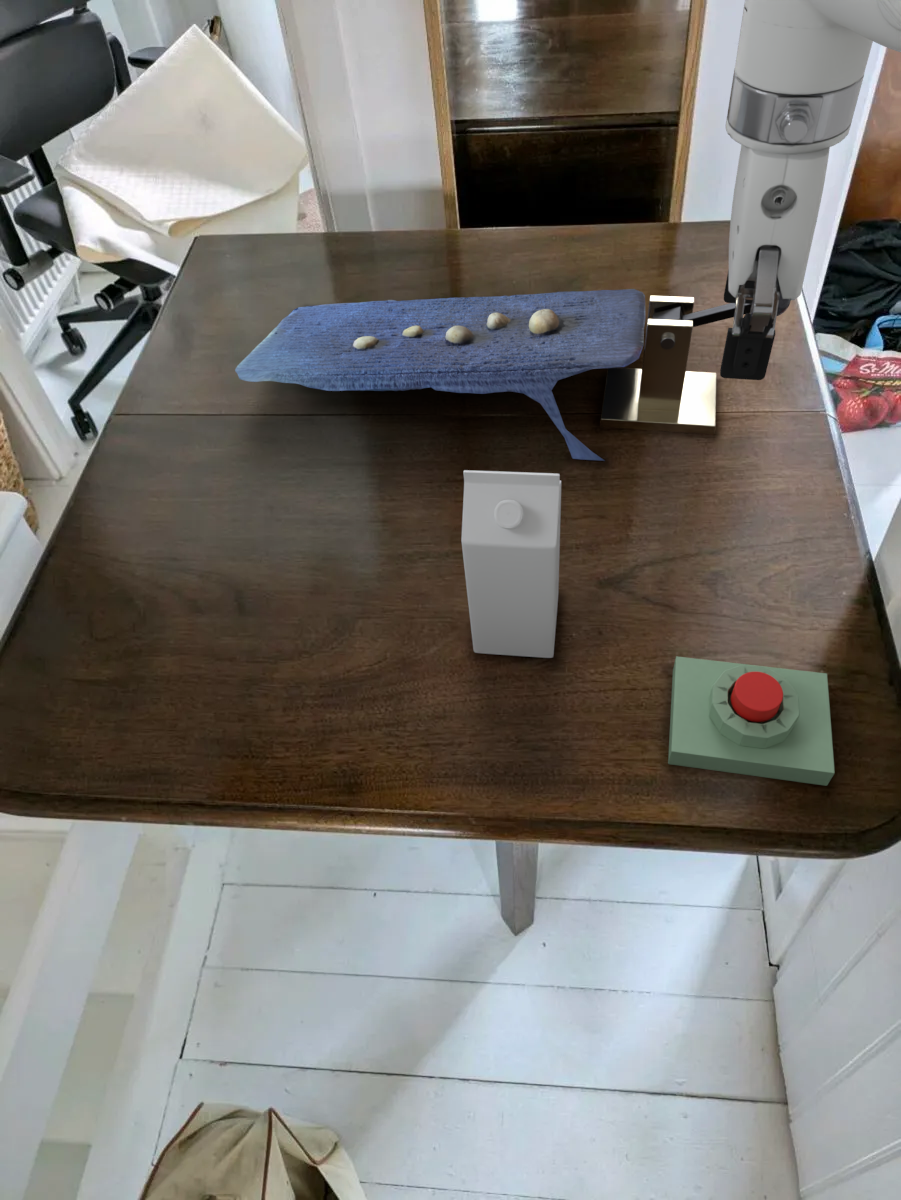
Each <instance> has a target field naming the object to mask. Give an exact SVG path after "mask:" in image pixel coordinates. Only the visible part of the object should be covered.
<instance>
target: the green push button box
mask: <svg viewBox="0 0 901 1200" xmlns="http://www.w3.org/2000/svg"><path fill="white" fill-rule="evenodd" d="M748 672H762V673H766V674H768V675H770V676H772V677H773V678H774V679H776V680H777V681H778V683H779V684H780V686H781V688H782V690H783V700H782V702H781V705H780V707H779V709H778V712H777V713H776V715H775V716H774V717H773V718H772V719H770V720H768V721H765V722H752V721H748V720H746V719H744V718H742V717H741V716H740V715H738V714H737V713H736V711H735V710H734V708H733V707H732V704H731V695H732V691H733V688H734V686H735V683H736V681H737V679H738V678H739V677H740V676H742V675H743V674H745V673H748ZM671 680H672V682H671V698H670V699H671V702H670V718H669V719H670V720H669V738H668V739H669V740H668V741H669V742H668V757H667V758H668V760H667V764H668V765H672V766H679V767H687V768H694V769H701V770H709V771H717V772H723V773H731V774H737V775H738V774H739V775H745V776H752V777H760V778H767V779H774V780H781V781H782V780H783V781H789V782H796V783H804V784H811V785H818V786H828V785H829V784H830V782H831V780H832V778H833V777H834V775H835V759H834V746H833V744H834V743H833V731H832V720H831V707H830V694H829V681H828V673H827V672H818V671H817V672H816V671H810V670H809V671H808V670H798V669H791V668H781V667H772V666H766V665H765V666H763V665H757V664H756V665H755V664H747V663H738V662H729V661H720V660H712V659H703V658H695V657H694V658H693V657H685V656H677V655H676V656H675V659H674V664H673V668H672V679H671Z"/></svg>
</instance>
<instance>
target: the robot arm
mask: <svg viewBox="0 0 901 1200" xmlns="http://www.w3.org/2000/svg"><path fill="white" fill-rule="evenodd" d="M740 23H741V24H740V31H739V38H738V44H737V51H736V57H735V65H734V69H733V75H732V81H731V89H730V95H729V101H728V108H727V115H726V120H725V131H726V134H727V135H728V136H729V137H730V138H731V139H732V140H733V141H734V142H736V143H738V144H739V145H740V151H739V156H738V163H737V168H736V174H735V181H734V188H733V196H732V204H731V213H730V223H729V234H728V235H729V236H728V237H729V238H728V270H727V275H726V281H725V287H724V291H723V301H724V302H725V304H729V303H736V306H735V313H734V317H733V321H732V327H728V328H727V333H726V338H725V343H724V349H723V354H722V360H721V364H720V368H719V376H720V377H721V378H722V379H730V380H731V379H732V380H749V381H762V380H764V379H765V378H766V375H767V370H768V367H769V362H770V358H771V354H772V350H773V345H774V342H775V337H776V322H777V317H778V316H777V310H778V303H779V297H780V290H781V294H782V298H783V299H790V300H791V301H795V300H797V299H798V298H799V297H800V296H801V294H802V291H803V285H804V281H805V277H806V272H807V268H808V267H807V266H808V262H809V257H810V253H811V249H812V244H813V240H814V235H815V230H816V225H817V222H818V217H819V212H820V207H821V202H822V198H823V192H824V187H825V181H826V175H827V171H828V169H827V168H828V163H829V157H830V156H829V155H830V148H832V147H834V146H836V145H837V144H840V143H841V142H843V140H844V139H846V138H847V136H848V135H849V132H850V130H851V126H852V122H853V118H854V116H855V110H856V107H857V105H858V104H857V103H858V99H859V96H860V93H861V88H862V84H863V81H864V77H865V73H866V68H867V64H868V61H869V57H870V53H871V51H872V50H871V49H872V46H873V42H874V43H876V44H878V45H880V46H882V47H884V48H887V49H890V50H892V51H895V52H898V53H901V0H744V4H743V11H742V17H741V22H740ZM745 304H752V306H751V311H750V313H746V314H744V315H743V313H744V305H745Z"/></svg>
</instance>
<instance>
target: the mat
mask: <svg viewBox="0 0 901 1200" xmlns="http://www.w3.org/2000/svg"><path fill="white" fill-rule="evenodd" d="M645 323H646V295H645V294H644V292H643V291H640V290H639V289H636V288H626V289H600V290H582V291H580V290H579V291H577V290H572V291H555V292H544V293H543V292H542V293H528V294H527V293H525V294H512V295H500V296H499V295H498V296H497V295H496V296H495V295H493V296H492V295H491V296H468V297H464V296H463V297H457V296H456V297H447V298H445V297H443V298H439V297H438V298H430V299H429V298H428V299H427V298H424V299H411V300H409V299H408V300H407V299H406V300H396V299H387V300H371V301H361V302H360V301H359V302H342V303H341V302H339V303H325V304H316V305H315V304H314V305H307V306H298V307H296V308H295V309H293V310H292V311H291V312H290V313H289V314H288V315H286V316H285V317H284V318H282V320H281V321H280V322H279V323H278V324H277V326H275V327H274V328H273V329H272V330H271V332H269V333H268V334H267V336H266V337H265V338H264V339H263V340H262V341H261V342H259V343H258V344H257V345H256V346H255V348H254V349H252V350H251V352H250V353H249V354H248V355H246V357H244V359H242V360H241V361H240V362H239V364H237V366H236V367H235V369H234V371H235V373H236V374H237V376H238V379H239V380H242V381H244V382H252V383H258V382H275V383H276V382H277V383H283V384H296V385H301V386H303V387H306V388H310V389H315V390H321V391H326V392H327V391H328V392H331V391H332V392H340V391H341V392H343V391H355V392H356V391H358V392H364V391H374V392H387V391H394V392H399V391H402V392H404V391H410V390H412V391H413V390H422V389H428V388H429V389H430V388H431V389H433V390H434V391H438V392H439V391H440V392H450V393H456V394H479V395H486V394H493V393H504V392H505V393H506V392H509V393H510V392H511V393H512V392H513V393H519V394H524V395H525V396H527V397H528V398H530V399H531V400H533V401H535V402H537V403H538V404H540V405H541V407H542V408H543V409H544V411H545V412H546V414H547V415H548V417H549V418H550V420H551V421H552V422H553V424H554V425H555V427H556V428H557V429H558V431H559V432H560V434H561V435H562V436H563V438H564V440H565V443H566V446H567V448H568V451H569V453H570V457H571V458H572V459H573V460H582V461H583V460H584V461H585V460H586V461H600V462H601V461H603V462H605V461H606V460H605V459H603V458H602V457H600V456H599V455H598V454H596V453H595V452H593V451H592V450H591V449H589V447H588V446H586V445H585V444H584V443H583V442H582V441H580V440H579V439H578V438H577V437H576V436H575V435H573V434H572V433H571V432H570V431H568V430H567V428H566V426H565V423H564V421H563V418H562V415H561V413H560V410H559V406H558V405H557V402H556V399H555V396H554V394H553V391H552V390H553V389H554V387H555V386H556V384H557V383H558V381H560V380H563V379H566V378H570V377H571V376H575V375H578V374H581V373H584V372H587V371H590V370H597V369H598V370H599V369H608V368H615V367H616V368H627V367H628V366H630V365H631V364H632V363H634V362H636V361H637V360H639V359H640V356H641V354H642V350H643V349H644V348H643V347H644V344H645V337H644V336H645V335H644V334H645Z"/></svg>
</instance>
